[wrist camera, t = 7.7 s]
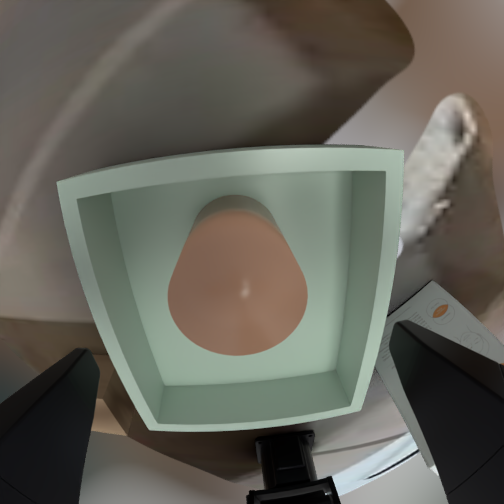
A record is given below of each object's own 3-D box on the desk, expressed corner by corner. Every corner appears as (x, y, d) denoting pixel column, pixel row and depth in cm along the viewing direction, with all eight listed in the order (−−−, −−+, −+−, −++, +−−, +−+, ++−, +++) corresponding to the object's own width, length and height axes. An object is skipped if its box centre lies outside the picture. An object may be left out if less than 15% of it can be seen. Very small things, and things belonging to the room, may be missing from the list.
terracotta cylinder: (276, 191, 16) (308, 229, 9) (279, 272, 18) (305, 348, 11) (185, 199, 15) (154, 243, 9) (197, 280, 17) (182, 359, 11)
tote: (342, 367, 23) (360, 410, 18) (158, 384, 22) (149, 429, 17) (359, 145, 16) (403, 150, 11) (99, 168, 15) (56, 182, 11)
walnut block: (138, 393, 23) (127, 435, 18) (94, 390, 22) (79, 428, 18) (120, 354, 21) (102, 399, 16) (73, 352, 21) (51, 391, 16)
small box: (381, 371, 24) (438, 480, 12) (356, 336, 21) (427, 471, 9) (447, 320, 22) (524, 411, 10) (433, 277, 20) (537, 378, 8)
